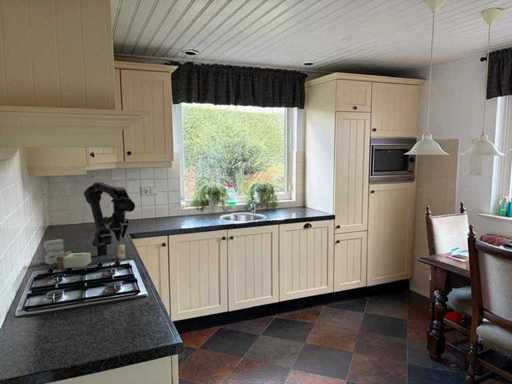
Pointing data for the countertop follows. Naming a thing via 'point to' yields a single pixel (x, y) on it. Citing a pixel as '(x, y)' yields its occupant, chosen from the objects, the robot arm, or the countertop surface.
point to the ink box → (53, 250)
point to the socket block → (76, 260)
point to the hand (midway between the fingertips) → (120, 239)
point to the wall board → (60, 259)
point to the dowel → (121, 251)
